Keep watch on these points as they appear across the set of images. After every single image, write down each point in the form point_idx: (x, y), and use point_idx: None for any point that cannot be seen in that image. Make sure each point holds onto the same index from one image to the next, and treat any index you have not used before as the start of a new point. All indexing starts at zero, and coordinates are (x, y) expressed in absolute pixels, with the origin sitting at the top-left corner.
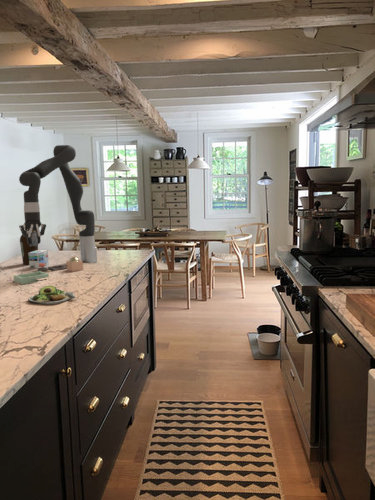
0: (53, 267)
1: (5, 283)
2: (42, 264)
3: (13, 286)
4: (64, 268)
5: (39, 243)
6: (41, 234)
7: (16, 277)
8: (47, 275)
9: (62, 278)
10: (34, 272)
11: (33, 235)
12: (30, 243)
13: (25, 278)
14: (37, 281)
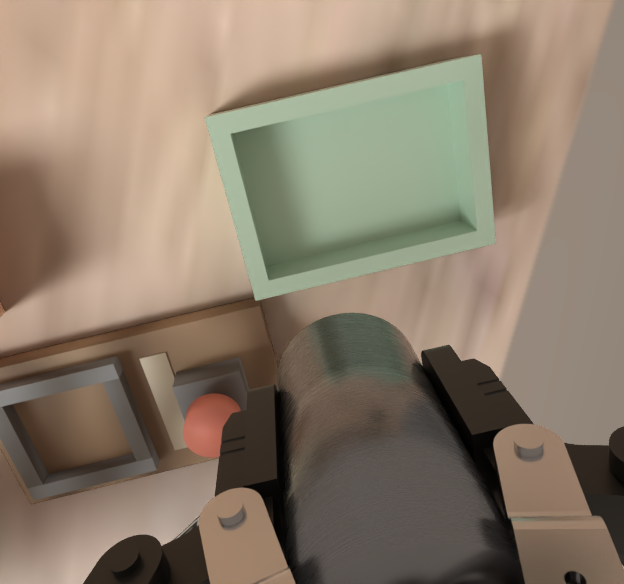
0: (107, 463)
1: (546, 198)
2: (211, 407)
3: (535, 29)
4: (13, 383)
5: (252, 390)
6: (169, 563)
7: (487, 182)
8: (217, 114)
9: (79, 72)
10: (312, 269)
11: (423, 454)
12: (440, 353)
13: (441, 62)
14: (319, 89)
